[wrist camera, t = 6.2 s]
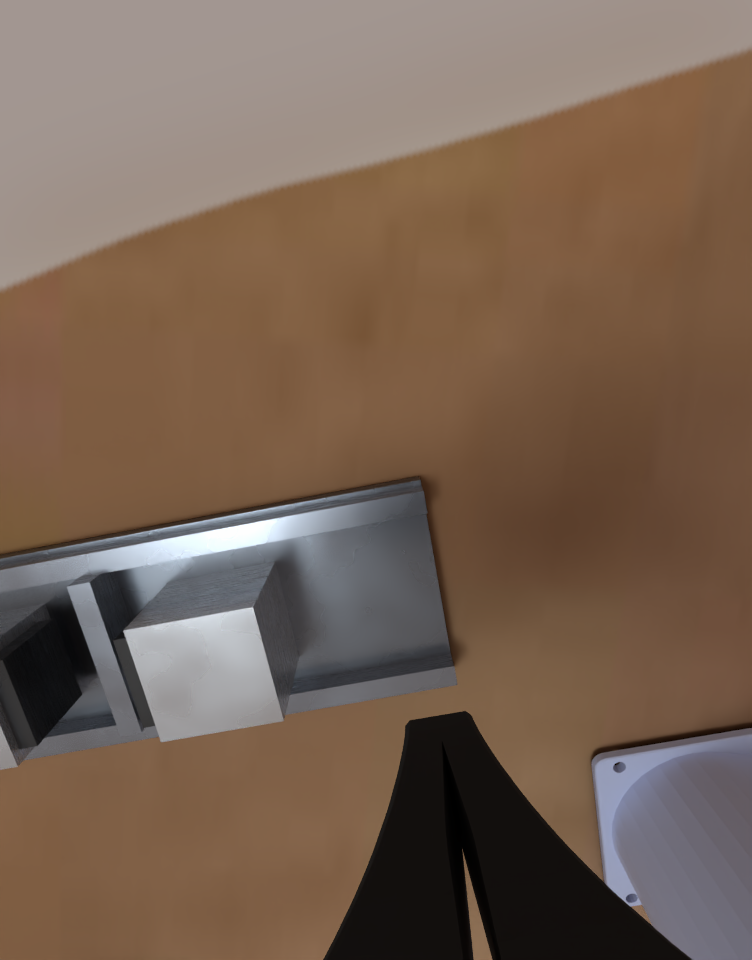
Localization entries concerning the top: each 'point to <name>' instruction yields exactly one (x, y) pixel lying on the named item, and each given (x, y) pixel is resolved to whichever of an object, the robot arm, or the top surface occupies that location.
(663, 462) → the top surface
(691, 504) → the top surface
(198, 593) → the free white block
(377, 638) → the rail
